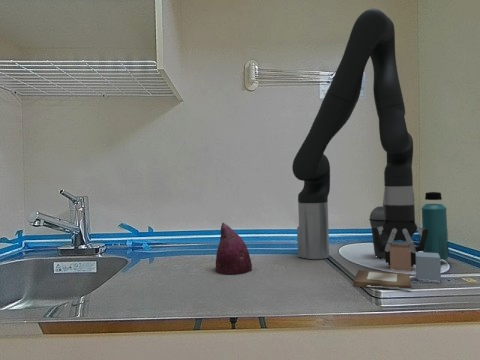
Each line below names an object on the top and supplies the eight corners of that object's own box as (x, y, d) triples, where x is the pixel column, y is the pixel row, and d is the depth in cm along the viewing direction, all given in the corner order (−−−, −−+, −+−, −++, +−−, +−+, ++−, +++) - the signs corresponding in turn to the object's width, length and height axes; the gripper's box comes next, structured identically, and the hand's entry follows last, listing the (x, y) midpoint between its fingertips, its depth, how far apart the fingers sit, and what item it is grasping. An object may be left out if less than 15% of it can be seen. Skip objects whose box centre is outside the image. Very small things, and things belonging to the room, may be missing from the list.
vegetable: (212, 284, 98) (195, 233, 97) (226, 270, 108) (211, 223, 107) (247, 278, 94) (229, 224, 93) (258, 263, 104) (242, 214, 103)
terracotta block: (390, 269, 96) (389, 247, 95) (390, 265, 100) (390, 243, 100) (411, 271, 93) (410, 248, 93) (410, 266, 98) (410, 244, 98)
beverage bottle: (452, 265, 97) (450, 192, 97) (426, 265, 99) (424, 192, 98) (444, 259, 104) (442, 191, 104) (419, 259, 105) (417, 191, 105)
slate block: (416, 281, 85) (416, 256, 85) (416, 275, 89) (415, 251, 89) (440, 283, 83) (440, 257, 83) (438, 277, 87) (438, 253, 87)
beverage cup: (376, 253, 115) (374, 191, 115) (399, 256, 110) (397, 191, 109) (366, 257, 110) (364, 192, 110) (389, 260, 105) (387, 192, 104)
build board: (353, 286, 83) (353, 280, 83) (358, 274, 92) (358, 269, 92) (410, 291, 78) (410, 285, 78) (409, 278, 87) (409, 273, 87)
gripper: (369, 204, 96) (371, 267, 96) (429, 204, 90) (431, 271, 90) (371, 201, 103) (373, 260, 103) (427, 201, 97) (429, 264, 97)
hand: (400, 265), depth 97 cm, fingers closed on terracotta block, 5 cm apart
